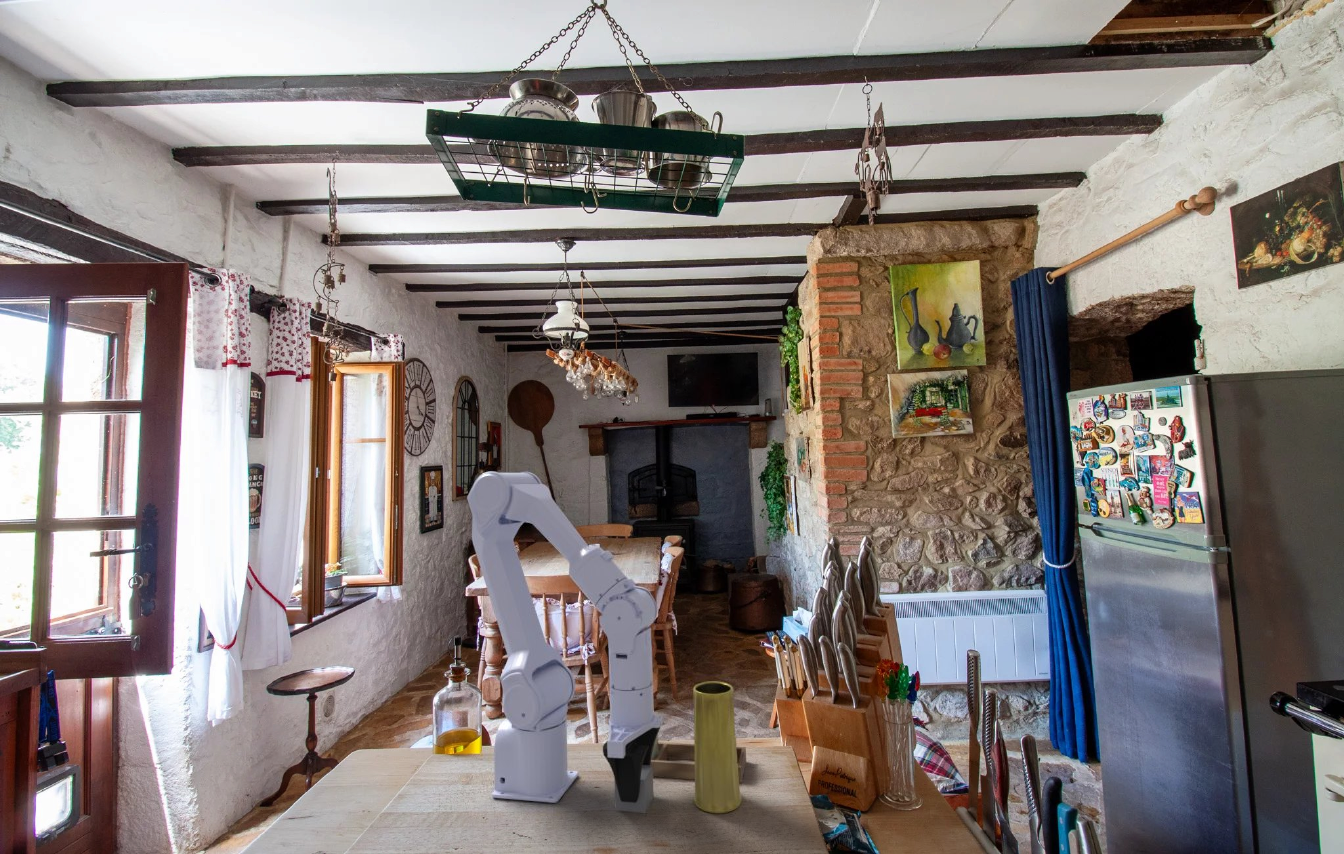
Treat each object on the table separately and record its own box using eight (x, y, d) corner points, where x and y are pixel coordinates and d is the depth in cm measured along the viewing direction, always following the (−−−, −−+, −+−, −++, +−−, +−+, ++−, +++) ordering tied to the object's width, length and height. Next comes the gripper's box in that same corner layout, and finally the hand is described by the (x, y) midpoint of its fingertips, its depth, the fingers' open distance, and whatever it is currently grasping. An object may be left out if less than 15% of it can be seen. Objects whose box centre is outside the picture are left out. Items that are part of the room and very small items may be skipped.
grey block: (615, 810, 77) (614, 777, 78) (624, 794, 81) (623, 763, 82) (645, 813, 76) (644, 780, 77) (653, 796, 80) (652, 765, 81)
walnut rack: (614, 773, 87) (614, 744, 87) (627, 753, 93) (627, 726, 94) (741, 782, 83) (740, 752, 83) (746, 761, 89) (745, 733, 90)
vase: (739, 815, 75) (734, 696, 76) (690, 812, 76) (686, 694, 77) (743, 791, 81) (738, 680, 82) (698, 788, 82) (694, 679, 83)
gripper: (645, 704, 72) (649, 824, 71) (672, 667, 86) (676, 767, 85) (590, 702, 74) (592, 819, 73) (625, 666, 88) (628, 764, 87)
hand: (634, 791), depth 79 cm, fingers closed on grey block, 4 cm apart
